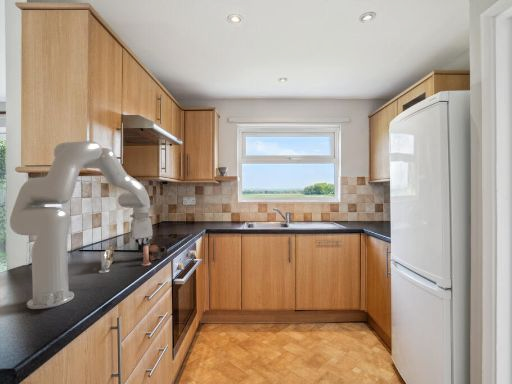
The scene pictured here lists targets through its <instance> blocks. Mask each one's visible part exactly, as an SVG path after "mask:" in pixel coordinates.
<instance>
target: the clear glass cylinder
mask: <svg viewBox="0 0 512 384" xmlns="http://www.w3.org/2000/svg"><path fill="white" fill-rule="evenodd" d="M100 256H101V257H100V265H101V269H100V270H98V273H99V274H105V273H109V272H111V270H110V269H109V268H108V269H107V251H106V250H105V251H101V252H100Z"/></svg>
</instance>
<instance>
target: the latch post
mask: <svg viewBox="0 0 512 384" xmlns="http://www.w3.org/2000/svg"><path fill="white" fill-rule="evenodd" d="M148 246H149V245H145V246H143V251H142V253H143V255H142V256H143V257H142V259H143V263H141V266H142V267H143V266H144V267H146V266H150V265H152V263H151V262H150V258H149V257H150V255H149V250H148Z"/></svg>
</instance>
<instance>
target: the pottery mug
mask: <svg viewBox="0 0 512 384" xmlns="http://www.w3.org/2000/svg"><path fill="white" fill-rule="evenodd" d="M147 246H148V250H149V261H150V262H152V261H155V260H160V259H161V257H163V255H165V254H166V251H167V248H166V247H165V246H157V244H152V245H147ZM141 253H142V254H141V255H142V256H143V252H141Z"/></svg>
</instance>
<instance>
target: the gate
mask: <svg viewBox="0 0 512 384" xmlns="http://www.w3.org/2000/svg"><path fill="white" fill-rule="evenodd" d="M114 247H115V245H109V246H108V247H107V248H106V249H105V251H107V269H109V267H110V266H111V265H112V263H113V262H114V261H115V248H114Z"/></svg>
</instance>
